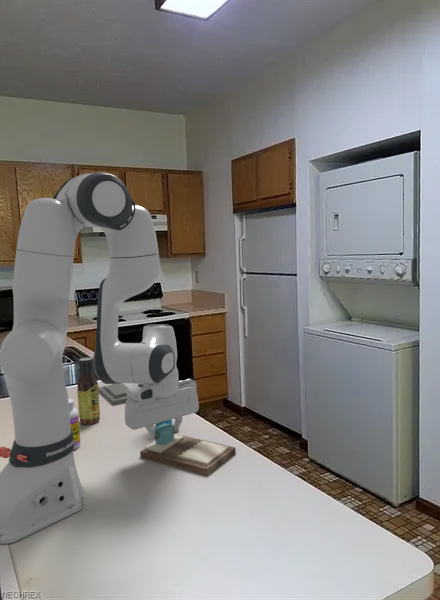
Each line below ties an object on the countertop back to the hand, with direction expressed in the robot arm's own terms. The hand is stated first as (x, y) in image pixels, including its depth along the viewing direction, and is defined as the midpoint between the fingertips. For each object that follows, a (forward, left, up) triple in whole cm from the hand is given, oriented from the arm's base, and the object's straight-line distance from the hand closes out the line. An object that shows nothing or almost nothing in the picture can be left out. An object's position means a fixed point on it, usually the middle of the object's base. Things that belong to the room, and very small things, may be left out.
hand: (164, 436), depth 122 cm
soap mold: (+28, +45, -4) cm, 53 cm away
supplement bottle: (-11, +25, -4) cm, 28 cm away
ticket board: (0, -7, -4) cm, 8 cm away
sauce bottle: (+5, +34, -4) cm, 34 cm away
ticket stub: (0, 0, -2) cm, 2 cm away
